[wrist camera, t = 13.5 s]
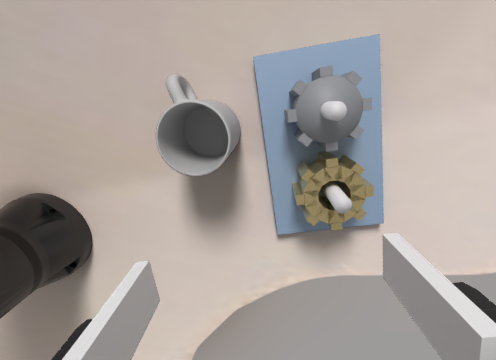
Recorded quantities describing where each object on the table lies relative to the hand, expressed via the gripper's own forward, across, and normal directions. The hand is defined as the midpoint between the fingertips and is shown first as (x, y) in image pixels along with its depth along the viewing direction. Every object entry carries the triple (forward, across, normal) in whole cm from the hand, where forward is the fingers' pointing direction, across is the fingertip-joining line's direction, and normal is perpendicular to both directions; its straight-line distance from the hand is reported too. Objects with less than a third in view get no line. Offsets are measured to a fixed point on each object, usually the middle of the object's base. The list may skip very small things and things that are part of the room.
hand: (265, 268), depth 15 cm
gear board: (+26, +9, +2) cm, 28 cm away
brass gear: (+25, +9, -4) cm, 27 cm away
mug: (+27, -7, +8) cm, 29 cm away
